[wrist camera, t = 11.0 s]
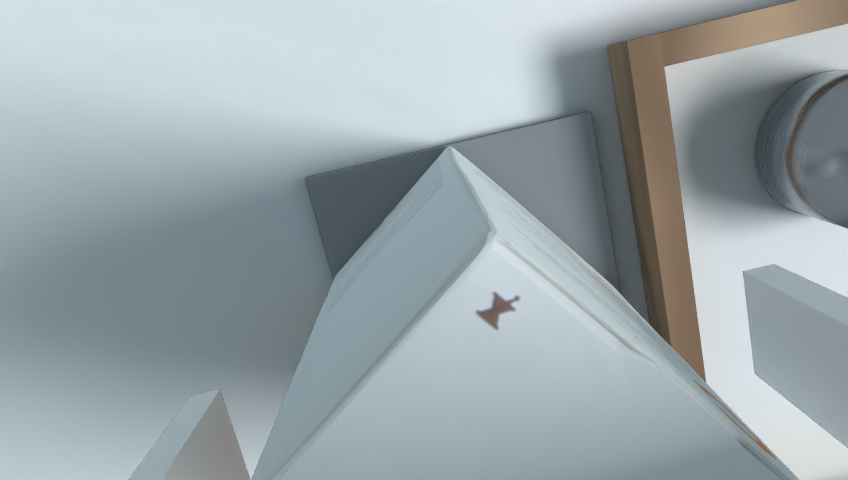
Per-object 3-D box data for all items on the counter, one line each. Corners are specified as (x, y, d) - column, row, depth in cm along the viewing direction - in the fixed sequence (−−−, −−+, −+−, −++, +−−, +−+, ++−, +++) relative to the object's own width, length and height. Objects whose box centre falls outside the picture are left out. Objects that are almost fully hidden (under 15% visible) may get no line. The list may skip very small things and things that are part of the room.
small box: (331, 276, 22) (215, 525, 9) (448, 140, 21) (495, 216, 8) (499, 409, 23) (594, 785, 11) (617, 287, 22) (879, 546, 10)
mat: (375, 426, 24) (375, 431, 24) (307, 177, 22) (304, 178, 21) (630, 372, 24) (634, 377, 23) (587, 111, 21) (590, 112, 21)
